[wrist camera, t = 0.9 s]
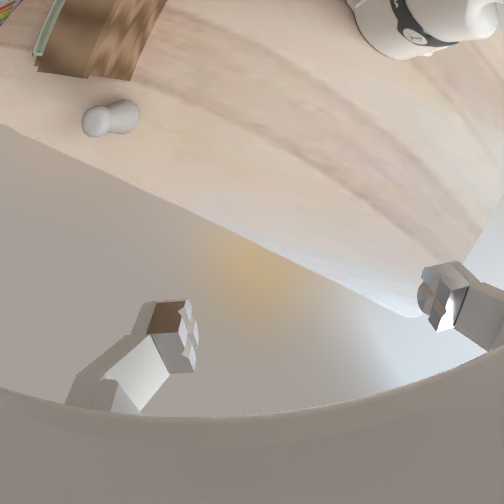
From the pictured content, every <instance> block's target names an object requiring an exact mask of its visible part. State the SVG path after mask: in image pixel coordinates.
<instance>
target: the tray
mask: <svg viewBox="0 0 504 504" xmlns="http://www.w3.org/2000/svg"><path fill="white" fill-rule="evenodd" d="M65 1H66V0H55V1H54V3H53V5H52V7H51V9H50V11H49V13H48V15H47V17H46V20H45V22H44V24H43V27H42V29H41V32H40V34H39V37H38V39H37V42H36V44H35V47H34V50H33V53H32V55H35V56H42V55H43V52H44V50H45V47H46V44H47V42H48V39H49V36H50V34H51V31H52V29H53V27H54V24H55V22H56V20H57V18H58V15H59V13H60V11H61V9H62V7H63V5H64V3H65Z"/></svg>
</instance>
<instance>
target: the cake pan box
mask: <svg viewBox="0 0 504 504" xmlns="http://www.w3.org/2000/svg"><path fill="white" fill-rule="evenodd" d="M21 1H22V0H0V26H1V24H2V23H3V22H4V21H5V19H6V18H7V17H8V16H9V15H10V13H11V12H12V11H13V10H14V9H15V8H16V7H17V5H18V4H19V3H20V2H21Z"/></svg>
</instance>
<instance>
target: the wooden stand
mask: <svg viewBox="0 0 504 504" xmlns="http://www.w3.org/2000/svg"><path fill="white" fill-rule="evenodd" d="M166 1H167V0H66V1H65V3H64V5H63V7H62V9H61V11H60V13H59V15H58V18H57V20H56V22H55V24H54V27H53V29H52V31H51V34H50V36H49V39H48V42H47V44H46V47H45V50H44V52H43V55H42V56H37V58H36V61H35V64H34V66H39V67H38V70H37V72H45V73H53V74H60V75H67V76H73V77H79V78H87V79H88V76H89V75H91V76H100V77H108V78H115V79H122V80H128V81H130V79H131V76H132V74H133V71H134V69H135V66H136V64H137V61H138V59H139V57H140V54H141V52H142V50H143V47H144V45H145V43H146V41H147V39H148V36H149V34H150V32H151V30H152V28H153V26H154V24H155V22H156V20H157V18H158V16H159V14H160V12H161V11H162V9H163V7H164V5H165V3H166Z"/></svg>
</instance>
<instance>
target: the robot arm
mask: <svg viewBox="0 0 504 504" xmlns="http://www.w3.org/2000/svg"><path fill="white" fill-rule="evenodd" d="M346 2H347V3H348V5H349V6H350V8H351V9H352V10H353V12H354V14H355V18H356V22H357V25H358V27H359V29H360V31H361V33H362V34H363V36H364V37H365V39H366V40H367V41H368V42H369V43H370V44H371V45H372V46H373V47H374V48H375V49H376V50H378V51H379V52H381V53H382V54H384V55H386V56H388V57H391V58H394V59H400V60H405V59H410V58H413V57H415V56H425V57H428V56H431V55H433V51H436V50H440V49H443V48H446V47H448V46H452V45H454V44H457V43H458V42H460V41H467V40H477V39H485V38H488V37H489V36H491V35H492V34H493V33H494V32H495V30H496V28H497V26H498V11H497V6H496V3H495V2H497V3H501V4H503V5H504V0H346ZM421 278H422V280H423V283H422V284H421V285H420V286H419V288H418V293H417V300H418V305H419V307H420V309H421V310H422V312H424V313H426V314H428V315H429V317H428V320H429V322H430V323H431V325H432V326H433V328H434V329H435V330H436V332H438V331H442V330H445V329H448V328H452V327H454V329H456V330H457V331H459V332H460V333H462V334H463V335H465V336H466V337H468V338H469V339H470V340H472V341H473V342H475V343H476V344H478V345H479V346H481V347H482V348H484V349H485V350H486V351H488V352H487V353H485V354H483V355H481V356H479V357H477V358H475V359H473V360H470V361H468V362H466V363H464V364H461V365H459V366H456V367H454V368H452V369H449V370H447V371H444V372H442V373H439V374H436V375H434V376H431V377H428V378H426V379H423V380H420V381H417V382H414V383H411V384H408V385H405V386H402V387H398V388H395V389H391V390H388V391H384V392H381V393H377V394H374V395H369V396H365V397H361V398H357V399H353V400H348V401H344V402H339V403H334V404H329V405H324V406H318V407H312V408H306V409H299V410H292V411H285V412H277V413H269V414H268V413H267V414H257V415H244V416H227V417H163V416H146V415H142V413H141V412H140V410H142V408H143V407H144V406H145V405H146V403H147V402H148V401H149V400H150V398H151V397H152V396H153V395H154V394H155V392H156V391H157V390H158V389H159V388H160V386H161V385H162V384H163V383H164V381H165V380H166V379H167V378H168V376H169V375H170V373H191V372H194V371H195V365H196V358H197V356H196V354H195V351H194V350H195V349H196V348H197V347H198V342H199V335H198V334H199V333H198V327H197V323H196V320H195V319H194V318H193V317H192V316H191V313H192V307H191V304H190V301H189V300H188V299H181V300H164V301H150V302H145V303H143V304H142V307H141V309H140V312H139V314H138V317H137V319H136V322H135V324H134V326H133V329H132V332H131V334H130V335H126V336H124V337H123V338H122V339H121V340H119V341H118V342H117V343H116V344H114V345H113V346H112V347H111V348H109V349H108V350H107V351H106V352H104V354H102V355H101V356H99V357H98V358H97V359H96V360H94V361H93V362H92V363H91V364H89V365H88V366H87V367H86V368H85V369H84V370H82V371H81V372H80V373H78V374H77V375H76V377H75V380H74V382H73V384H72V387H71V389H70V392H69V394H68V396H67V399H66V402H65V404H61V403H56V402H52V401H48V400H44V399H40V398H36V397H32V396H28V395H25V394H21V393H18V392H15V391H12V390H8V389H5V388H2V387H0V504H504V291H503V290H501V289H498V288H496V287H494V286H491V285H489V284H486V283H481V282H480V281H479V280H477V279H476V277H475V276H474V275H473V274H472V273H470V272H469V271H468V270H467V269H466V268H465V267H464V266H463V265H462V264H461V263H460V262H459V261H456V260H455V261H451V262H447V263H444V264H439V265H434V266H429V267H425V268H424V270H423V272H422V276H421Z"/></svg>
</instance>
